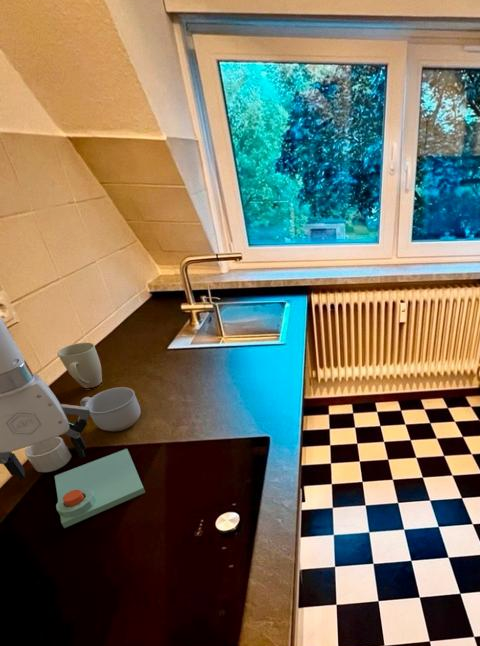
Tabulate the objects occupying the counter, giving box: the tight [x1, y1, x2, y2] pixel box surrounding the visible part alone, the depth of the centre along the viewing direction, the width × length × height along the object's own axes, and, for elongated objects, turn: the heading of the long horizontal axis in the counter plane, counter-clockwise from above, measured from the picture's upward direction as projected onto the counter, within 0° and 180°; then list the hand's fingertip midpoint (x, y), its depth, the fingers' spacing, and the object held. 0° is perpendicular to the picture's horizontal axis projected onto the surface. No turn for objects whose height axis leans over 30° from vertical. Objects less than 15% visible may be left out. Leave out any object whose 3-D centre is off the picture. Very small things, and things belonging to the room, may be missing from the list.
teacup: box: [79, 386, 142, 432], centre depth 97 cm, size 14×11×8 cm
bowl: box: [24, 436, 72, 473], centre depth 85 cm, size 7×7×5 cm
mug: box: [56, 342, 103, 389], centre depth 112 cm, size 11×10×12 cm
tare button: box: [63, 490, 84, 507], centre depth 73 cm, size 3×3×2 cm
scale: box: [54, 448, 146, 529], centre depth 79 cm, size 14×16×3 cm
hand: (52, 463), depth 68 cm, fingers open, 8 cm apart
